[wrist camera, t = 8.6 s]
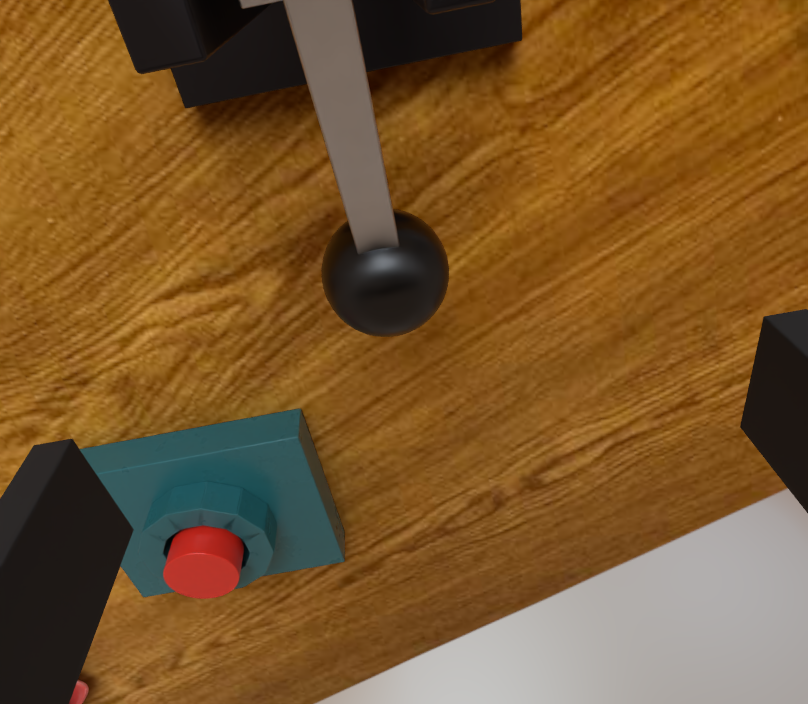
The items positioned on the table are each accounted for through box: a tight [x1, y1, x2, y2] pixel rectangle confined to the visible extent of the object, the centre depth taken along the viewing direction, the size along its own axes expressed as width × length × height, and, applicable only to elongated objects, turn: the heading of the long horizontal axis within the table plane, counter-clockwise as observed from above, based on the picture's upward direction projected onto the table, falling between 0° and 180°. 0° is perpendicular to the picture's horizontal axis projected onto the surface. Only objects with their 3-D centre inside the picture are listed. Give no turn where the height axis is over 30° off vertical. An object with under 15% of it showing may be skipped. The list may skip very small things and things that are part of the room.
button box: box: [80, 409, 345, 597], centre depth 32 cm, size 12×10×4 cm
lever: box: [238, 0, 449, 337], centre depth 13 cm, size 13×4×4 cm, turn 10°
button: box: [163, 526, 244, 598], centre depth 30 cm, size 4×4×2 cm
